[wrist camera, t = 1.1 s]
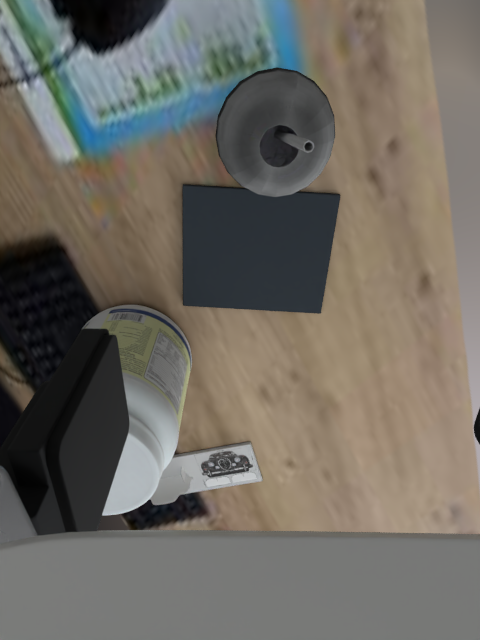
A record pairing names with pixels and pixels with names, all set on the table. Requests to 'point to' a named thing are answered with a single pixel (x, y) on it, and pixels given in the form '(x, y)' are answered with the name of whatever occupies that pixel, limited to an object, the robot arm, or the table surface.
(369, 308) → the table surface
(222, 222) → the mat
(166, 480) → the vintage car picture box
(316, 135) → the beverage cup
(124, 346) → the supplement tub
